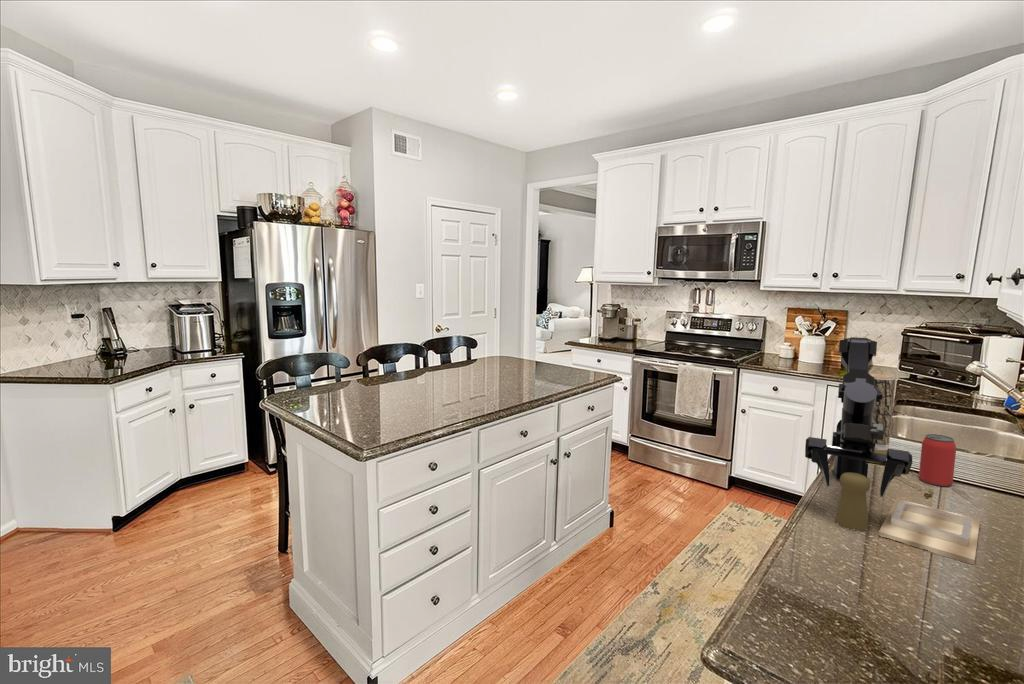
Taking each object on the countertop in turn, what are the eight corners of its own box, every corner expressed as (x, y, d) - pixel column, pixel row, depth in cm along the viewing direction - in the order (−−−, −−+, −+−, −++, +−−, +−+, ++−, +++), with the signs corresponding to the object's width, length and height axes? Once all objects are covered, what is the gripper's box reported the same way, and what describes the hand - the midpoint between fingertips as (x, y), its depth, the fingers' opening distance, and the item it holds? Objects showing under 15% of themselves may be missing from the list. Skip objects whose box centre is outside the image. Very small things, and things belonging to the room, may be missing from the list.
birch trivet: (878, 536, 96) (878, 531, 96) (896, 502, 111) (896, 498, 111) (974, 565, 86) (974, 559, 86) (979, 523, 101) (980, 519, 101)
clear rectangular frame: (890, 524, 99) (891, 518, 99) (899, 507, 107) (900, 500, 107) (967, 546, 91) (968, 539, 90) (971, 525, 99) (971, 518, 98)
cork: (857, 517, 104) (861, 469, 103) (875, 531, 98) (880, 480, 97) (828, 516, 105) (831, 468, 104) (844, 530, 99) (848, 479, 98)
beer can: (918, 475, 128) (922, 431, 126) (951, 481, 124) (956, 436, 122) (918, 482, 123) (923, 437, 121) (953, 489, 119) (958, 443, 117)
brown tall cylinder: (892, 465, 135) (900, 378, 132) (865, 463, 136) (872, 377, 133) (879, 457, 141) (887, 374, 139) (853, 455, 143) (860, 373, 140)
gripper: (808, 402, 108) (802, 463, 100) (915, 414, 98) (918, 483, 90) (808, 427, 115) (802, 486, 107) (907, 441, 105) (909, 508, 97)
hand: (854, 490), depth 100 cm, fingers open, 9 cm apart
